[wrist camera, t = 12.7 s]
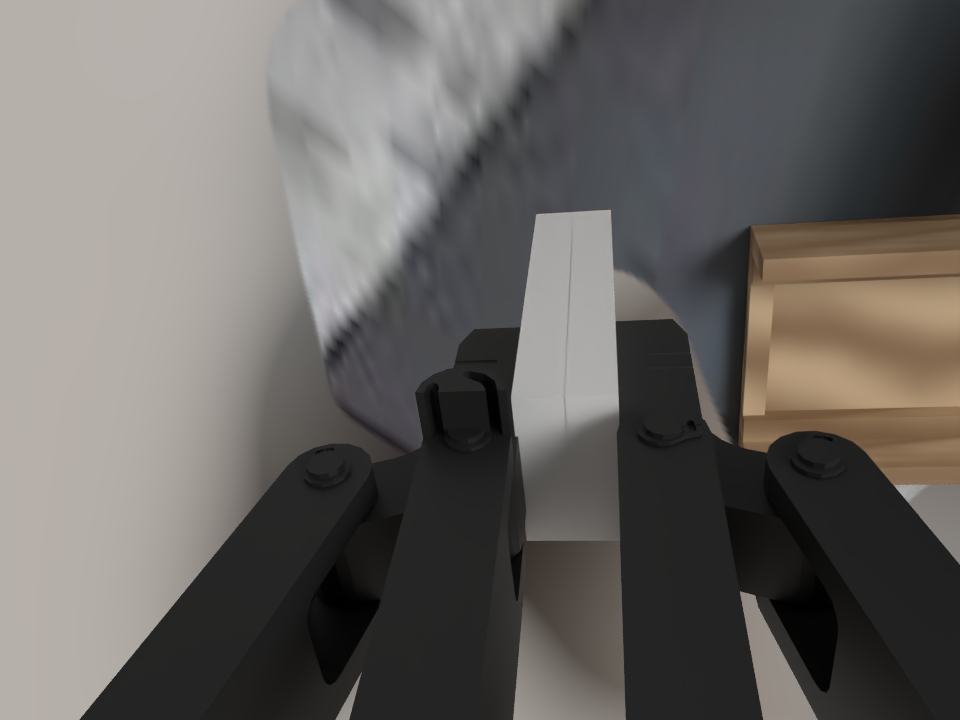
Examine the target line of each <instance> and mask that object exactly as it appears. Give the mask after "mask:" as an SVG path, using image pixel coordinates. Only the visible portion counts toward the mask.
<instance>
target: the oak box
mask: <svg viewBox="0 0 960 720" xmlns="http://www.w3.org/2000/svg"><path fill="white" fill-rule="evenodd" d="M798 431H820V432H826V433H831V434H836V435H838V436H841V437H843V438H845V439H848V440H850V441H853V442H854V443H855V444H856V445H858V446H859V447H860V448H861V449H862V450H864V451H865V452H866V453H867V454H868V456H869V457H870V458H871V459H872V460H873V461H874V463H875V464H876V465H877V466H878V467H879V469H880V470H881V471H882V472H883V473H884V475H885V476H886V477H887V478H888V479H889V481H890V482H891V483H892V484H893V485H908V484H960V214H954V215H936V216H917V217H899V218H881V219H863V220H844V221H826V222H808V223H790V224H772V225H753V226H751V234H750V251H749V268H748V285H747V302H746V320H745V337H744V354H743V371H742V388H741V405H740V422H739V439H738V443H739V447H742V448H746V449H750V450H755V451H761V452H766V453H767V451H768V449H769V446H770V445H771V444H772V443H773V442H774V441H776V440H777V439H778V438H779V437H781V436H784V435H787V434H790V433H794V432H798Z"/></svg>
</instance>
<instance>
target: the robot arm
mask: <svg viewBox="0 0 960 720" xmlns="http://www.w3.org/2000/svg"><path fill="white" fill-rule="evenodd" d="M614 301H615V300H614V276H613V252H612V229H611V210H599V211H583V212H566V213H550V214H536V221H535V228H534V236H533V243H532V250H531V257H530V264H529V272H528V279H527V286H526V293H525V300H524V308H523V315H522V322H521V327H518V328H493V329H474V330H473V331H472V332H471V333H470V334H469V335H468V336H467V337H466V338H465V339H464V340H463V341H462V342H461V343H460V344H459V348H458V352H457V356H456V360H455V364H454V368H451V369H447V370H444V371H442V372H439V373H436V374H434V375H432V376H431V377H429V378H428V379H426V380H425V381H423V382H422V383H421V384H420V386H419V388H418V389H417V391H416V392H415V394H416V400H417V405H418V411H419V417H420V422H421V428H422V433H423V442H422V446H421V448H419V449H417V450H415V451H413V452H411V453H409V454H407V455H404V456H400V457H397V458H394V459H390V460H385V461H381V462H377V463H373V464H372V463H371V459H370V455H369V454H368V453H366V452H365V451H364V450H363V449H362V448H359V447H357V446H353V445H350V444H329V445H325V446H320V447H316V448H313V449H311V450H309V451H307V452H305V453H303V454H301V455H299V456H298V457H297V458H296V459H295V460H294V461H292V462H291V463H290V464H289V465H288V466H287V467H286V468H285V470H284V471H283V472H282V473H281V474H280V476H279V477H278V478H277V479H276V481H275V482H274V483H273V484H272V485H271V487H270V488H269V489H268V490H267V492H266V493H265V494H264V495H263V496H262V498H261V499H260V500H259V501H258V503H257V504H256V505H255V506H254V508H253V509H252V510H251V511H250V512H249V514H248V515H247V516H246V517H245V518H244V520H243V521H242V522H241V523H240V524H239V526H238V527H237V528H236V529H235V531H234V532H233V533H232V534H231V536H230V537H229V538H228V539H227V541H226V542H225V543H224V544H223V545H222V546H221V548H220V549H219V550H218V551H217V553H216V554H215V555H214V556H213V557H212V559H211V560H210V561H209V562H208V564H207V565H206V566H205V567H204V568H203V570H202V571H201V572H200V573H199V575H198V576H197V577H196V578H195V580H194V581H193V582H192V583H191V584H190V586H189V587H188V588H187V589H186V590H185V592H184V593H183V594H182V595H181V596H180V598H179V599H178V600H177V601H176V603H175V604H174V605H173V606H172V607H171V609H170V610H169V611H168V613H167V614H166V615H165V616H164V617H163V618H162V620H161V621H160V622H159V623H158V625H157V626H156V627H155V628H154V630H153V631H152V632H151V633H150V634H149V636H148V637H147V638H146V639H145V640H144V642H143V643H142V644H141V645H140V647H139V648H138V649H137V650H136V651H135V653H134V654H133V655H132V656H131V658H130V659H129V660H128V661H127V662H126V664H125V665H124V666H123V667H122V669H121V670H120V671H119V672H118V673H117V675H116V676H115V677H114V678H113V679H112V681H111V682H110V683H109V684H108V686H107V687H106V688H105V689H104V691H103V692H102V693H101V694H100V695H99V697H98V698H97V699H96V700H95V701H94V703H93V704H92V705H91V706H90V708H89V709H88V710H87V711H86V712H85V714H84V715H83V716H82V717H81V719H80V720H335V719H336V717H337V715H338V714H339V712H340V710H341V708H342V706H343V705H344V703H345V701H346V699H347V697H348V695H349V694H350V692H351V690H352V688H353V686H354V685H355V683H356V681H357V679H358V677H359V675H360V674H361V672H362V674H361V677H360V681H359V685H358V689H357V693H356V696H355V701H354V704H353V708H352V712H351V715H350V719H349V720H513V713H514V702H515V690H516V678H517V666H518V654H519V643H520V631H521V618H522V607H523V595H524V583H525V571H526V562H525V552H524V544H523V538H524V528H526V538H527V541H575V540H576V541H584V540H585V541H587V540H589V541H595V540H620V548H621V549H620V550H621V582H622V611H623V644H624V674H625V705H626V706H625V707H626V720H763V717H762V711H761V706H760V701H759V695H758V689H757V684H756V678H755V673H754V668H753V662H752V656H751V651H750V645H749V640H748V635H747V629H746V623H745V618H744V612H743V607H742V601H741V596H740V591H741V592H745V593H749V594H753V595H755V596H756V599H757V603H758V607H759V609H760V611H761V613H762V615H763V617H764V619H765V621H766V622H767V624H768V626H769V628H770V630H771V632H772V634H773V636H774V637H775V639H776V641H777V643H778V645H779V647H780V649H781V651H782V653H783V655H784V656H785V658H786V660H787V662H788V664H789V666H790V668H791V670H792V672H793V673H794V675H795V677H796V679H797V681H798V683H799V685H800V686H801V689H802V691H803V692H804V694H805V696H806V698H807V700H808V702H809V704H810V706H811V708H812V709H813V711H814V713H815V715H816V717H817V719H818V720H960V565H959V563H958V562H957V561H956V560H955V559H954V557H953V556H952V555H951V554H950V552H949V551H948V550H947V549H946V548H945V546H944V545H943V544H942V543H941V542H940V541H939V539H938V538H937V537H936V536H935V535H934V533H933V532H932V531H931V530H930V529H929V527H928V526H927V525H926V524H925V523H924V521H923V520H922V519H921V518H920V517H919V515H918V514H917V513H916V512H915V511H914V509H913V508H912V507H911V506H910V505H909V503H908V502H907V501H906V500H905V499H904V497H903V496H902V495H901V494H900V493H899V491H898V490H897V489H896V488H895V487H894V485H893V484H892V483H891V482H890V481H889V479H888V478H887V477H886V476H885V475H884V473H883V472H882V471H881V470H880V469H879V467H878V466H877V465H876V464H875V463H874V461H873V460H872V459H871V458H870V457H869V456H868V454H867V453H866V452H865V451H864V450H862V449H861V448H860V447H859V446H858V445H856V444H855V443H854V442H853V441H850V440H848V439H845V438H843V437H841V436H838V435H836V434H831V433H826V432H820V431H798V432H794V433H790V434H787V435H784V436H781V437H779V438H778V439H777V440H776V441H774V442H773V443H772V444H771V445H770V446H769V449H768V451H767V453H766V452H761V451H755V450H750V449H746V448H742V447H738V446H735V445H732V444H730V443H728V442H725V441H723V440H721V439H720V438H718V437H717V436H715V435H714V434H712V433H711V431H710V429H709V427H708V426H707V423H706V422H705V420H703V419H702V415H701V409H700V404H699V398H698V392H697V387H696V381H695V375H694V369H693V364H692V358H691V354H690V347H689V341H688V335H687V333H686V332H685V331H684V330H683V329H682V328H681V327H680V326H679V325H678V324H677V323H676V322H675V321H674V320H673V319H663V320H638V321H615V302H614Z"/></svg>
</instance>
